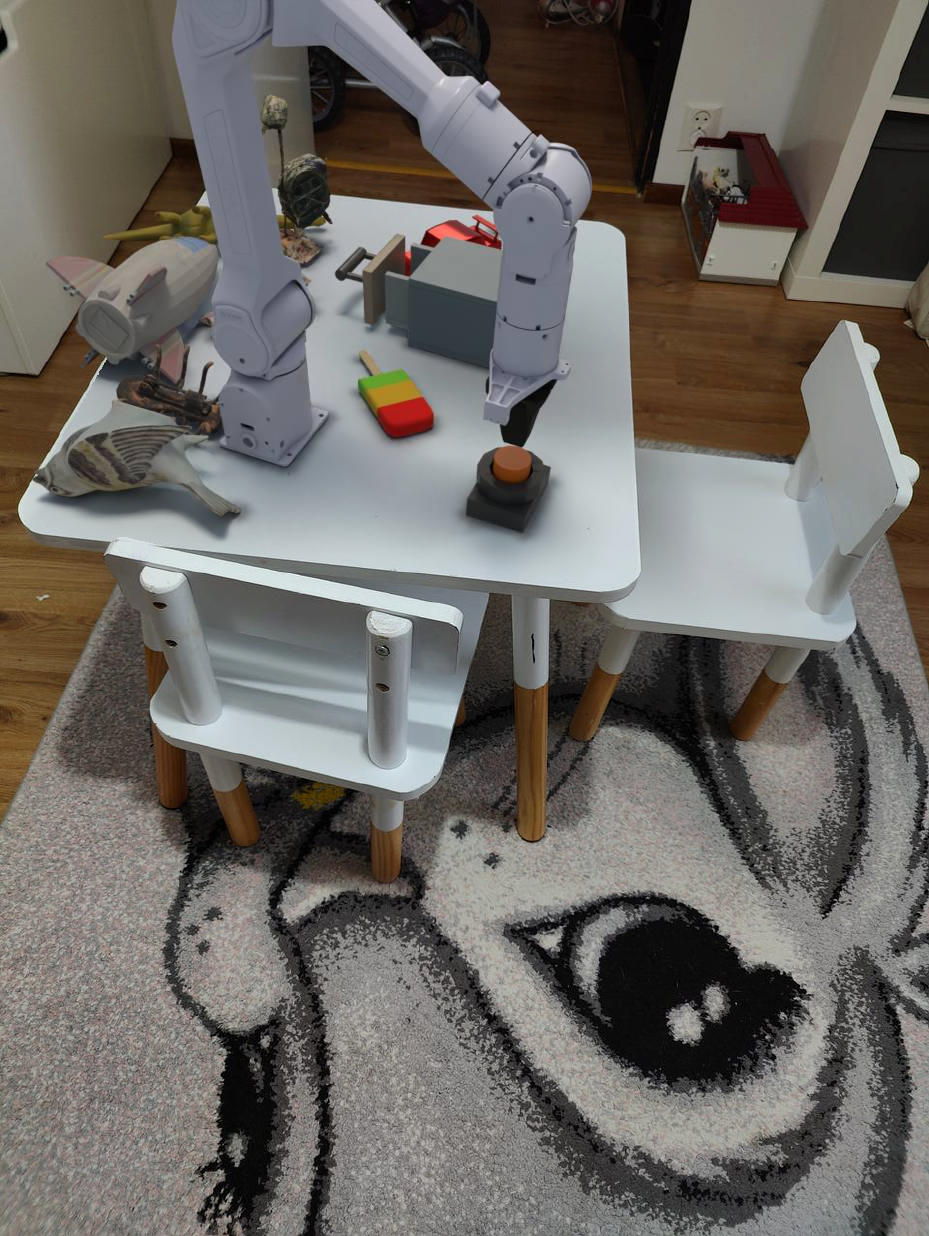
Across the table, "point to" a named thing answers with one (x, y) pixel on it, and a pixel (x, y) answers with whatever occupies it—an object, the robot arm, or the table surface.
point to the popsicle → (395, 400)
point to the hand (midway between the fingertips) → (515, 440)
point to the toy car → (457, 236)
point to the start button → (512, 464)
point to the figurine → (128, 457)
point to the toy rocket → (141, 299)
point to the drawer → (385, 279)
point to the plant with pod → (297, 187)
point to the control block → (506, 494)
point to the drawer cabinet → (455, 301)
